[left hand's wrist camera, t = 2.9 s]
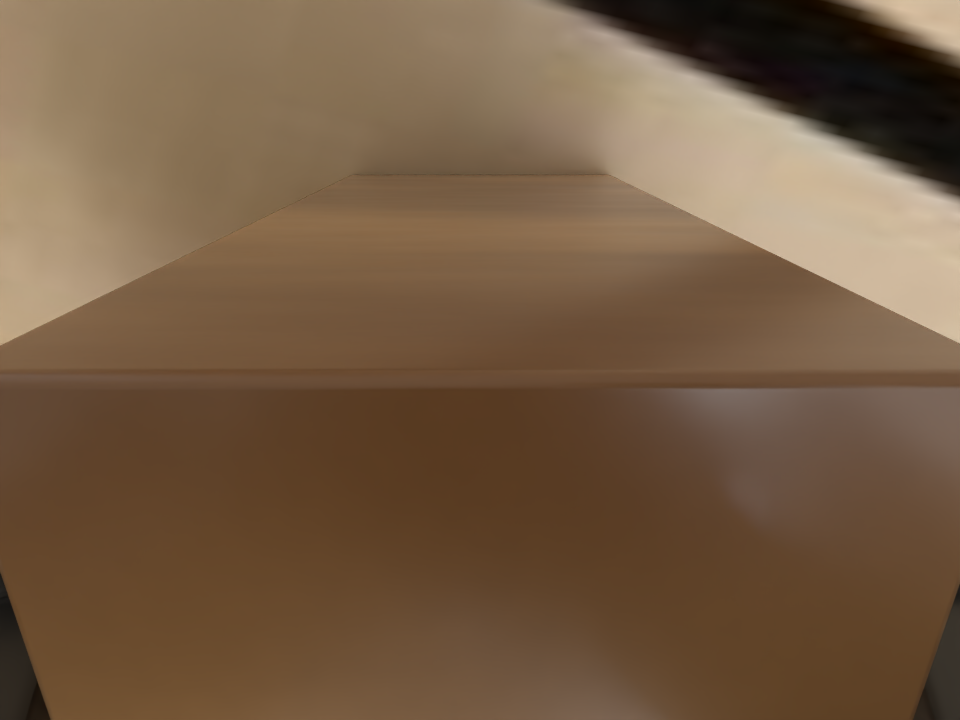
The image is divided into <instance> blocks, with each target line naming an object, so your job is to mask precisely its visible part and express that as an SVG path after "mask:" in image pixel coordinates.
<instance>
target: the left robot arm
mask: <svg viewBox="0 0 960 720" xmlns="http://www.w3.org/2000/svg"><path fill="white" fill-rule="evenodd" d="M0 720H51V719H50V716H49V713H48V710H47V708H46V705H45V702H44V699H43V696H42V693H41V690H40V687H39V684H38V681H37V678H36V675H35V672H34V669H33V666H32V664H31V661H30V658H29V655H28V652H27V649H26V646H25V643H24V640H23V637H22V634H21V631H20V628H19V625H18V623H17V620H16V617H15V614H14V611H13V608H12V605H11V602H10V599H9V596H8V593H7V590H6V587H5V584H4V582H3V579H2V576H1V573H0ZM913 720H960V585H959V588H958V591H957V593H956V596H955V599H954V602H953V605H952V608H951V611H950V614H949V617H948V620H947V622H946V625H945V628H944V631H943V634H942V637H941V640H940V643H939V646H938V649H937V652H936V654H935V657H934V660H933V663H932V666H931V669H930V672H929V675H928V678H927V681H926V683H925V686H924V689H923V692H922V695H921V698H920V701H919V704H918V707H917V710H916V713H915V715H914V718H913Z"/></svg>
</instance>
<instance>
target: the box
mask: <svg viewBox="0 0 960 720" xmlns="http://www.w3.org/2000/svg"><path fill="white" fill-rule="evenodd" d="M0 573H1V576H2V579H3V582H4V584H5V587H6V590H7V593H8V596H9V599H10V602H11V605H12V608H13V611H14V614H15V617H16V620H17V623H18V625H19V628H20V631H21V634H22V637H23V640H24V643H25V646H26V649H27V652H28V655H29V658H30V661H31V664H32V666H33V669H34V672H35V675H36V678H37V681H38V684H39V687H40V690H41V693H42V696H43V699H44V702H45V705H46V708H47V710H48V713H49V716H50V719H51V720H913V718H914V715H915V713H916V710H917V707H918V704H919V701H920V698H921V695H922V692H923V689H924V686H925V683H926V681H927V678H928V675H929V672H930V669H931V666H932V663H933V660H934V657H935V654H936V652H937V649H938V646H939V643H940V640H941V637H942V634H943V631H944V628H945V625H946V622H947V620H948V617H949V614H950V611H951V608H952V605H953V602H954V599H955V596H956V593H957V591H958V588H959V585H960V344H959V343H957V342H955V341H953V340H951V339H949V338H947V337H945V336H943V335H941V334H939V333H937V332H934V331H932V330H930V329H928V328H926V327H924V326H922V325H920V324H918V323H916V322H914V321H912V320H910V319H907V318H905V317H903V316H901V315H899V314H897V313H895V312H893V311H891V310H889V309H887V308H885V307H883V306H881V305H878V304H876V303H874V302H872V301H870V300H868V299H866V298H864V297H862V296H860V295H858V294H856V293H854V292H851V291H849V290H847V289H845V288H843V287H841V286H839V285H837V284H835V283H833V282H831V281H829V280H827V279H824V278H822V277H820V276H818V275H816V274H814V273H812V272H810V271H808V270H806V269H804V268H802V267H800V266H797V265H795V264H793V263H791V262H789V261H787V260H785V259H783V258H781V257H779V256H777V255H775V254H773V253H770V252H768V251H766V250H764V249H762V248H760V247H758V246H756V245H754V244H752V243H750V242H748V241H746V240H743V239H741V238H739V237H737V236H735V235H733V234H731V233H729V232H727V231H725V230H723V229H721V228H719V227H716V226H714V225H712V224H710V223H708V222H706V221H704V220H702V219H700V218H698V217H696V216H694V215H692V214H689V213H687V212H685V211H683V210H681V209H679V208H677V207H675V206H673V205H671V204H669V203H667V202H665V201H663V200H660V199H658V198H656V197H654V196H652V195H650V194H648V193H646V192H644V191H642V190H640V189H638V188H636V187H633V186H631V185H629V184H627V183H625V182H623V181H621V180H619V179H617V178H615V177H613V176H610V175H351V176H349V177H346V178H344V179H342V180H340V181H338V182H336V183H334V184H332V185H330V186H328V187H326V188H324V189H322V190H320V191H318V192H316V193H314V194H311V195H309V196H307V197H305V198H303V199H301V200H299V201H297V202H295V203H293V204H291V205H289V206H287V207H285V208H283V209H281V210H279V211H276V212H274V213H272V214H270V215H268V216H266V217H264V218H262V219H260V220H258V221H256V222H254V223H252V224H250V225H248V226H246V227H244V228H241V229H239V230H237V231H235V232H233V233H231V234H229V235H227V236H225V237H223V238H221V239H219V240H217V241H215V242H213V243H211V244H209V245H206V246H204V247H202V248H200V249H198V250H196V251H194V252H192V253H190V254H188V255H186V256H184V257H182V258H180V259H178V260H176V261H173V262H171V263H169V264H167V265H165V266H163V267H161V268H159V269H157V270H155V271H153V272H151V273H149V274H147V275H145V276H143V277H141V278H138V279H136V280H134V281H132V282H130V283H128V284H126V285H124V286H122V287H120V288H118V289H116V290H114V291H112V292H110V293H108V294H106V295H103V296H101V297H99V298H97V299H95V300H93V301H91V302H89V303H87V304H85V305H83V306H81V307H79V308H77V309H75V310H73V311H71V312H68V313H66V314H64V315H62V316H60V317H58V318H56V319H54V320H52V321H50V322H48V323H46V324H44V325H42V326H40V327H38V328H36V329H33V330H31V331H29V332H27V333H25V334H23V335H21V336H19V337H17V338H15V339H13V340H11V341H9V342H7V343H5V344H3V345H1V346H0Z"/></svg>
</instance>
